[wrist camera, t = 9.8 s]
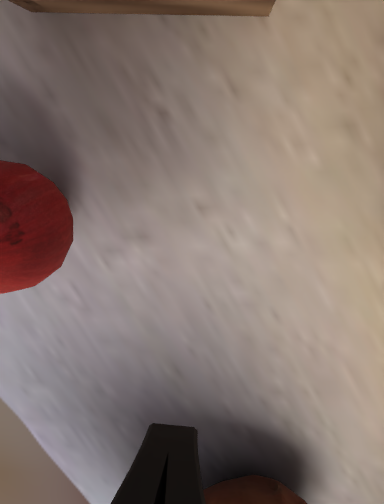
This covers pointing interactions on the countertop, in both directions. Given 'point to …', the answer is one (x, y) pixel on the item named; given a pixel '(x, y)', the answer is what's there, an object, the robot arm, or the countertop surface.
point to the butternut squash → (251, 492)
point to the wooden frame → (152, 6)
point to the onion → (31, 227)
